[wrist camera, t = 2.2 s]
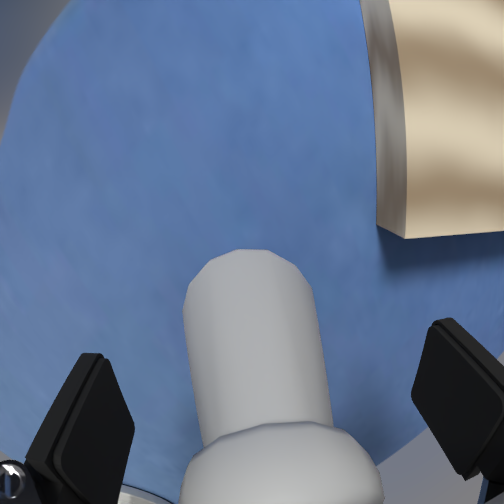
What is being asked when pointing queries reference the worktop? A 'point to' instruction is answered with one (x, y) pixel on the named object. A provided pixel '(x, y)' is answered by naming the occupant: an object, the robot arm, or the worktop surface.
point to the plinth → (438, 114)
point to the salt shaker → (265, 392)
